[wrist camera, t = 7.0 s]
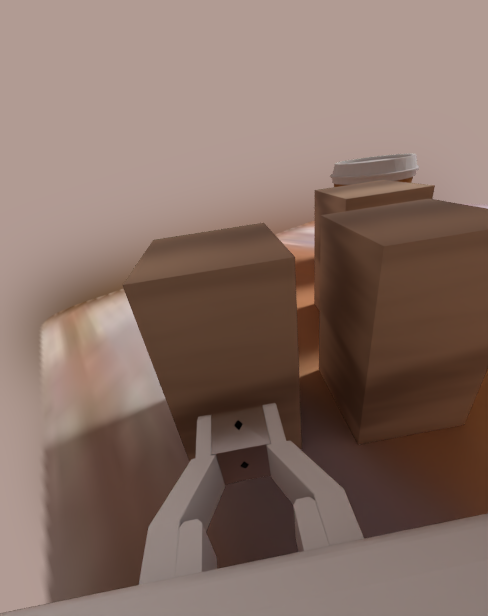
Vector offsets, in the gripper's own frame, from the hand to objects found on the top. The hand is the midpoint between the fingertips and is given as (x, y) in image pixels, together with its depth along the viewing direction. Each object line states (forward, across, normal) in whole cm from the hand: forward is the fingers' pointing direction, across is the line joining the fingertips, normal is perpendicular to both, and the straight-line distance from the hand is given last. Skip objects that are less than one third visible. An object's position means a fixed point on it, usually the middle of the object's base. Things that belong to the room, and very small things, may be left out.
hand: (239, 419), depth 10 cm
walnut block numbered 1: (+4, -9, +6) cm, 11 cm away
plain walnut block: (+5, 0, +6) cm, 7 cm away
